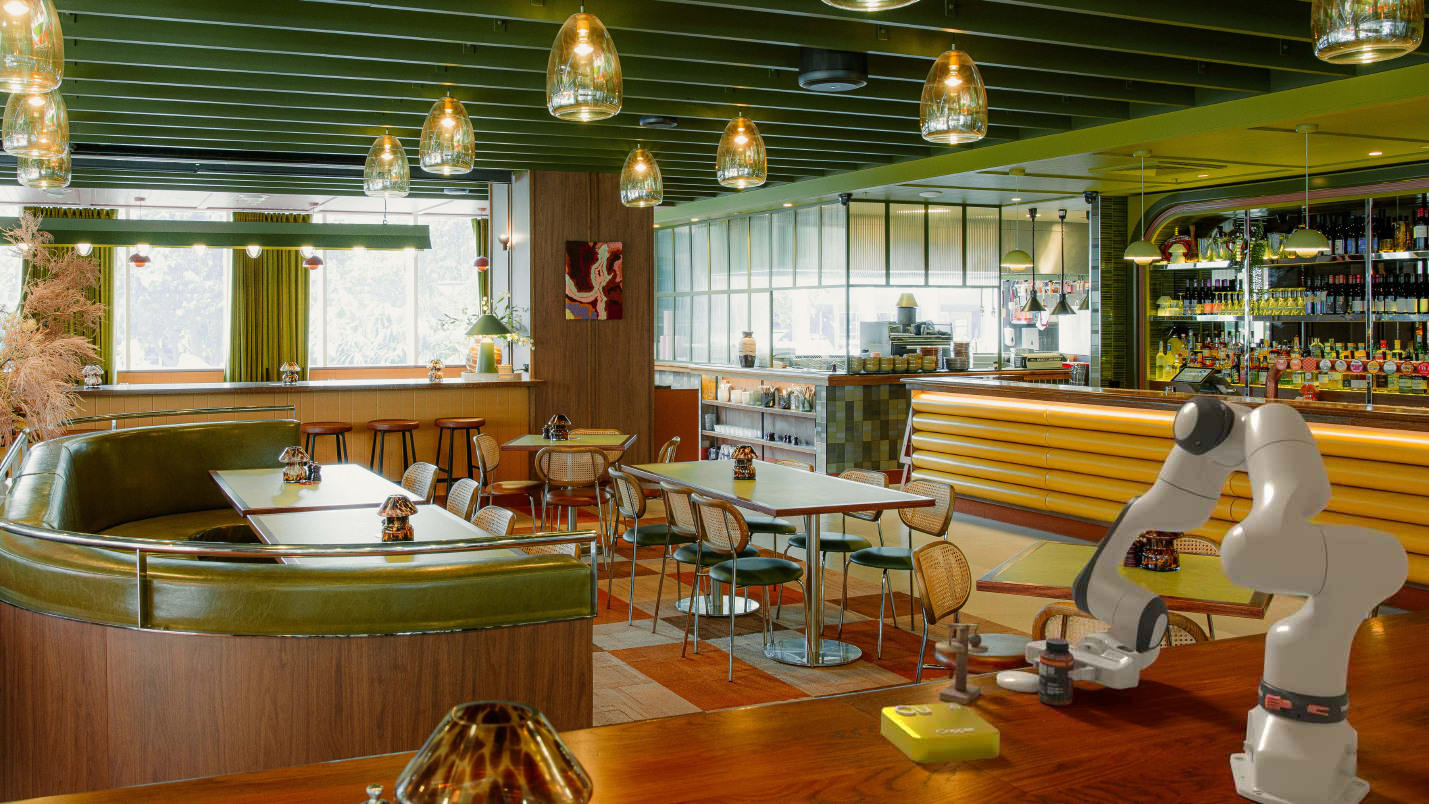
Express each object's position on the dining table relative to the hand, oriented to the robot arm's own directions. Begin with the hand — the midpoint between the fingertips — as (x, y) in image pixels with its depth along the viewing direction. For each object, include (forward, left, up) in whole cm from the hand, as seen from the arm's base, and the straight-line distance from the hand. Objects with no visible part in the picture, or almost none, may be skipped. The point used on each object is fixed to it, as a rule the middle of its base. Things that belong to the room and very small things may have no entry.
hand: (1053, 669), depth 197 cm
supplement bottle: (+1, 0, -6) cm, 6 cm away
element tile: (-32, +10, -7) cm, 34 cm away
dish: (+7, +8, -6) cm, 12 cm away
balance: (-7, +15, -6) cm, 17 cm away
